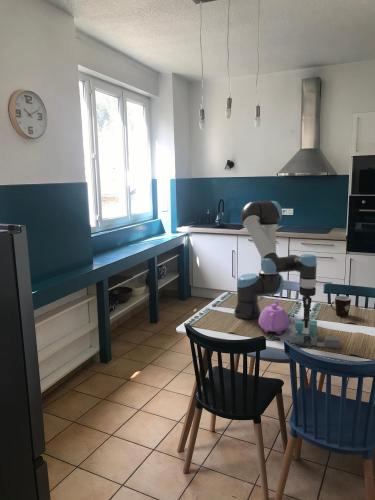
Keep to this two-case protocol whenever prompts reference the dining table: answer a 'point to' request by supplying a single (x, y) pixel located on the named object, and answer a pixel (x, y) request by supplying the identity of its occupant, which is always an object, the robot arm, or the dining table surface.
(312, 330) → the clip
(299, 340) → the rail
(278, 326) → the teapot
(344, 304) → the coffee mug
